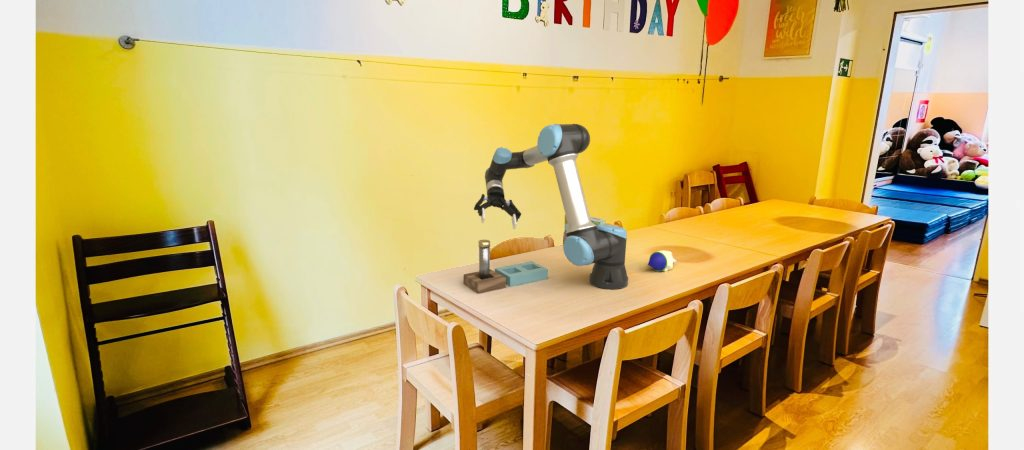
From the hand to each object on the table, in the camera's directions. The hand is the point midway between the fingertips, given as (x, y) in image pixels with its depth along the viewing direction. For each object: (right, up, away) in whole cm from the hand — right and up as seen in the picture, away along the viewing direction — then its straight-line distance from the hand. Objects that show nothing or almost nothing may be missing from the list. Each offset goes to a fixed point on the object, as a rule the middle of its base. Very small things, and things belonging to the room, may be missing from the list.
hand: (499, 223), depth 203 cm
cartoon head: (+69, -20, +10) cm, 72 cm away
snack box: (+41, -11, +45) cm, 62 cm away
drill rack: (+9, -22, -1) cm, 24 cm away
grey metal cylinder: (-5, -24, -10) cm, 27 cm away
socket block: (-5, -24, -10) cm, 27 cm away
